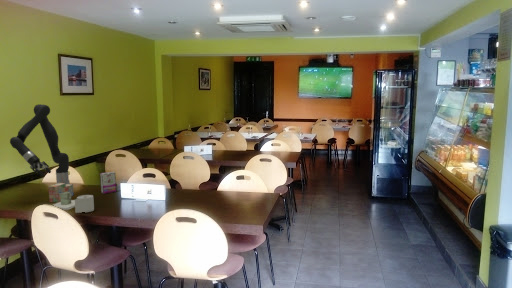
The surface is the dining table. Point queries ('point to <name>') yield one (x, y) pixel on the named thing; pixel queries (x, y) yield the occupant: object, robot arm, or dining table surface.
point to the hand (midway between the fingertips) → (46, 173)
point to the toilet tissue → (84, 204)
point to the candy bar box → (108, 182)
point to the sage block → (65, 198)
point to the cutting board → (66, 207)
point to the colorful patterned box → (59, 191)
